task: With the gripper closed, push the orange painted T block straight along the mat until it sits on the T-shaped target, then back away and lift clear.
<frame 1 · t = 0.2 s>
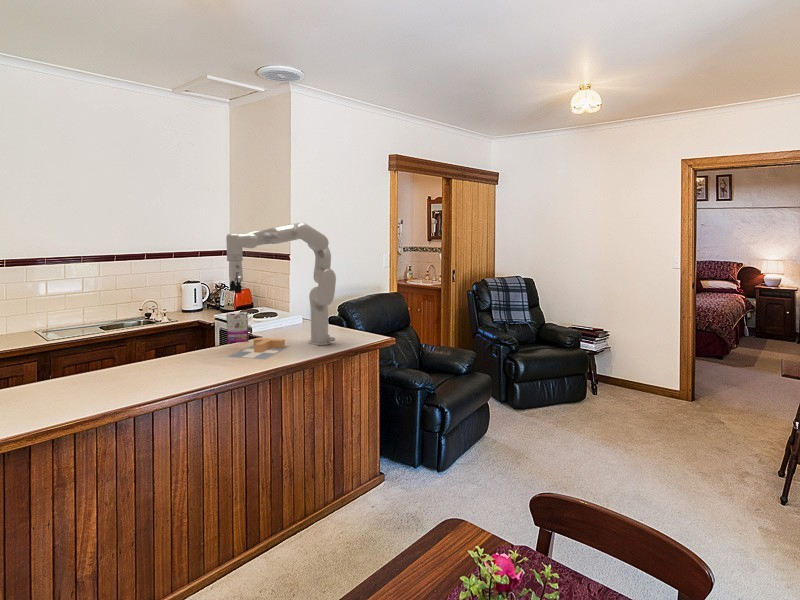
hand: (235, 292, 263), 31 cm above the table, tool pointing down, fingers open, 9 cm apart
candy bar box: (238, 342, 289), on the table
t block: (265, 348, 272), resting on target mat
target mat: (260, 351, 266), on the table
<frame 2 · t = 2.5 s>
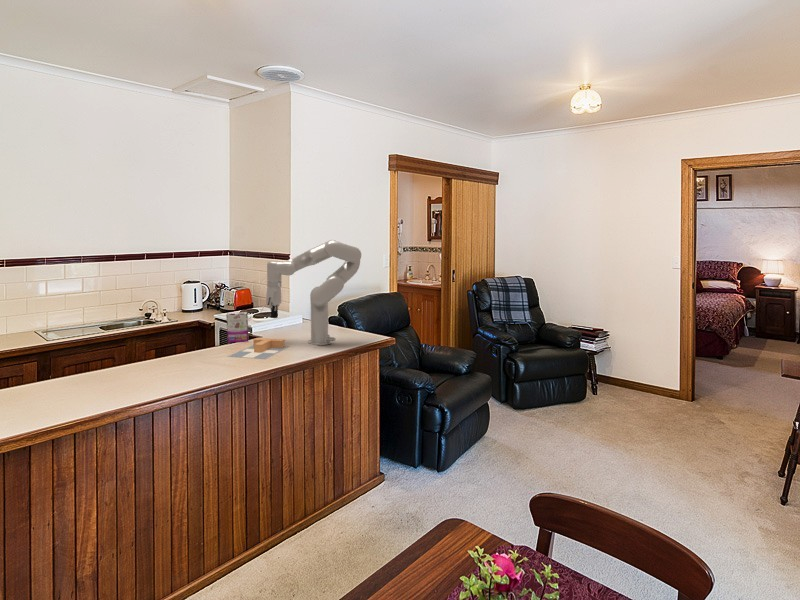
hand: (274, 317, 282), 15 cm above the table, tool pointing down, fingers closed
nothing on the table moved.
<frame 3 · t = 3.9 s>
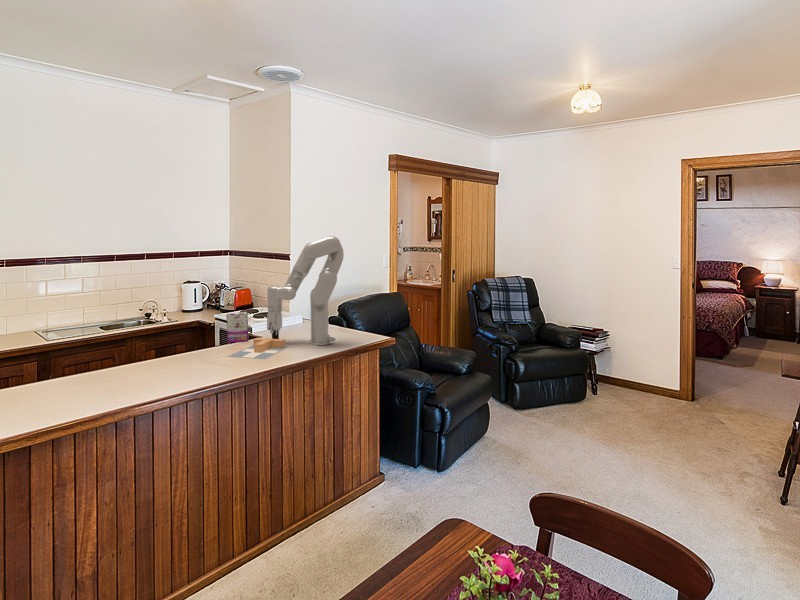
hand: (275, 342, 283), 1 cm above the table, tool pointing down, fingers closed
nothing on the table moved.
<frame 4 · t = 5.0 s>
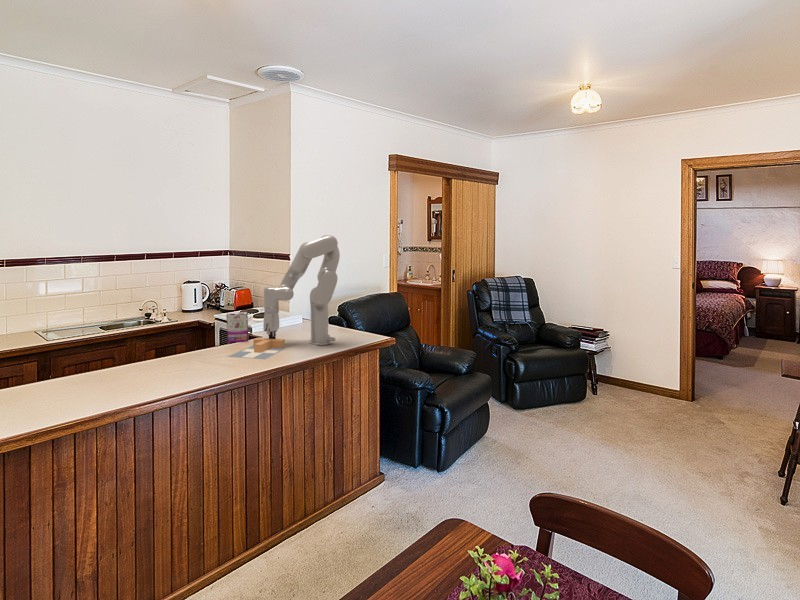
hand: (272, 343, 280), 1 cm above the table, tool pointing down, fingers closed
t block: (265, 348, 272), resting on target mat, touching gripper
everything else where it was.
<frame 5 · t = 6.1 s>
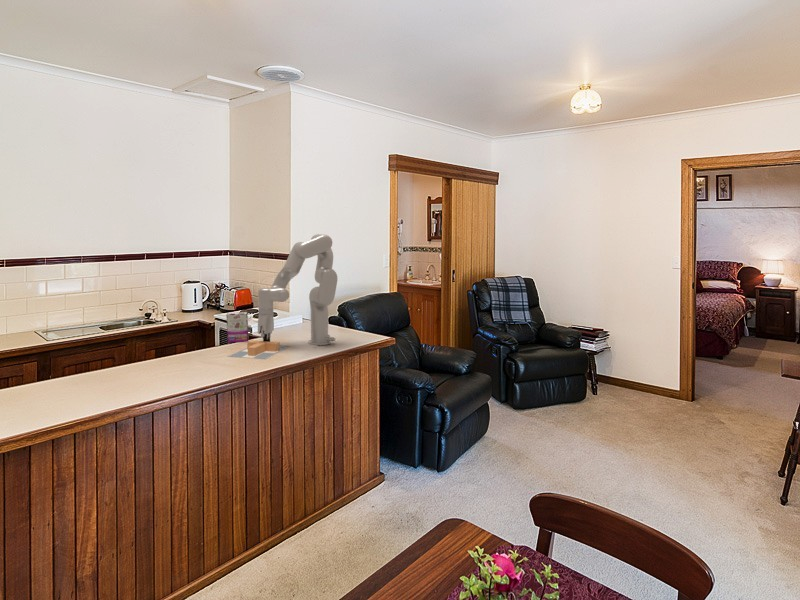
hand: (266, 345, 273), 2 cm above the table, tool pointing down, fingers closed
t block: (260, 351, 265), point 1 cm above the table, touching gripper, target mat
everything else where it was.
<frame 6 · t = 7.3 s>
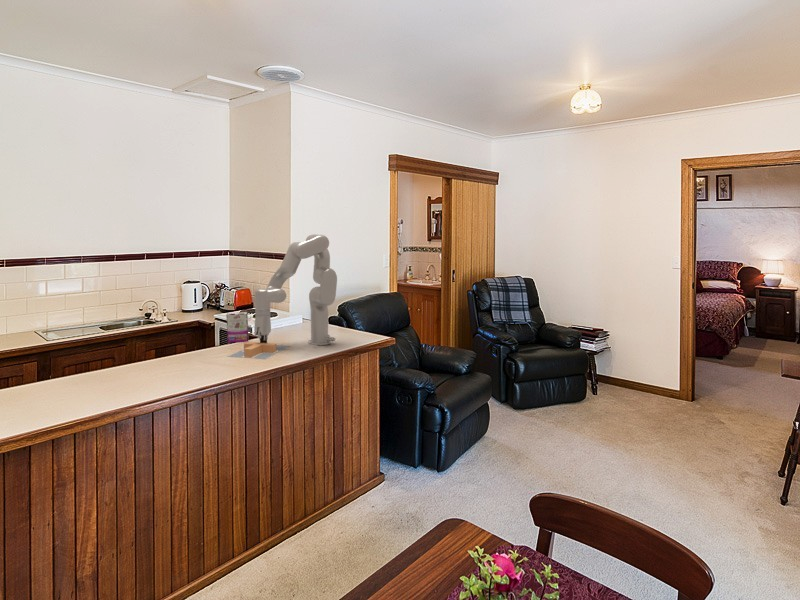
hand: (263, 347, 270), 1 cm above the table, tool pointing down, fingers closed
t block: (256, 352, 262), resting on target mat, touching gripper
everything else where it was.
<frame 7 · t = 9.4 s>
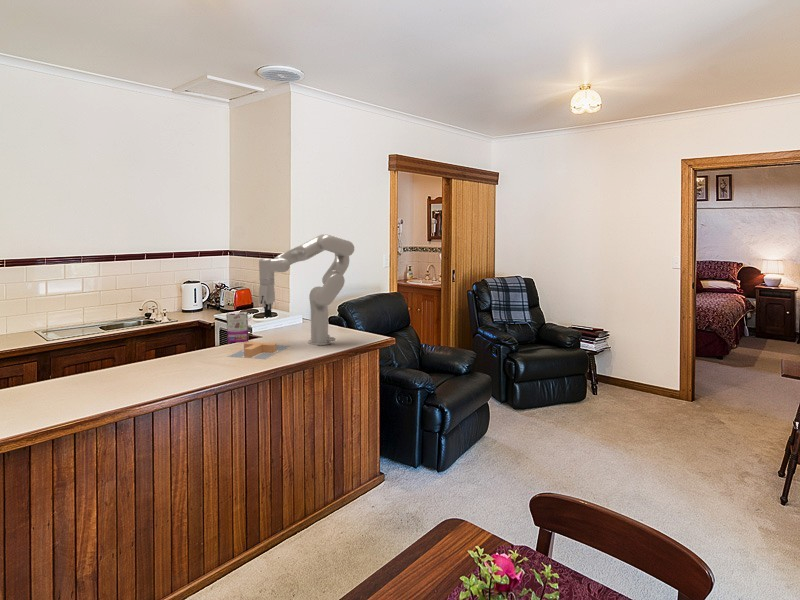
hand: (268, 316, 273), 17 cm above the table, tool pointing down, fingers closed
t block: (256, 352, 262), resting on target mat
everything else where it was.
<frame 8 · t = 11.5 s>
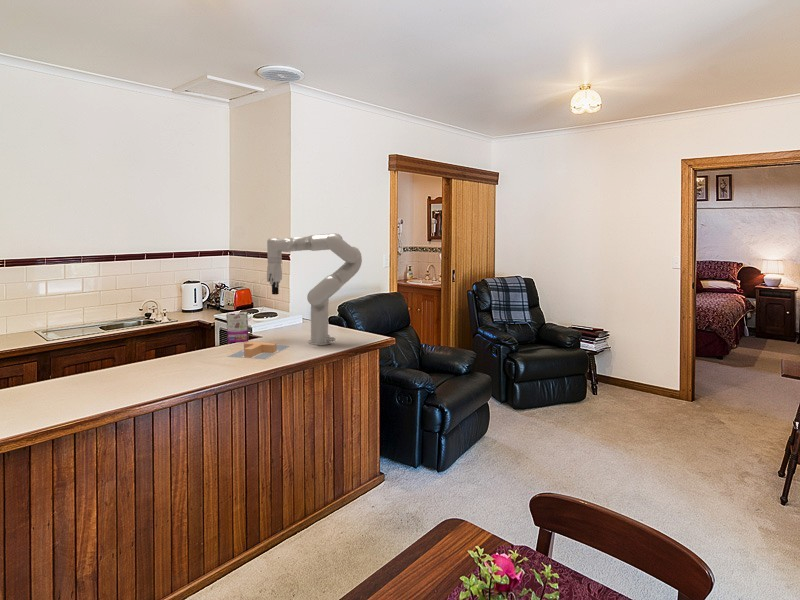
hand: (275, 294, 285), 27 cm above the table, tool pointing down, fingers closed
nothing on the table moved.
at the end: t block 0.5 cm from the target spot, point 0.5 cm above the table; t block tilted 0° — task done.
